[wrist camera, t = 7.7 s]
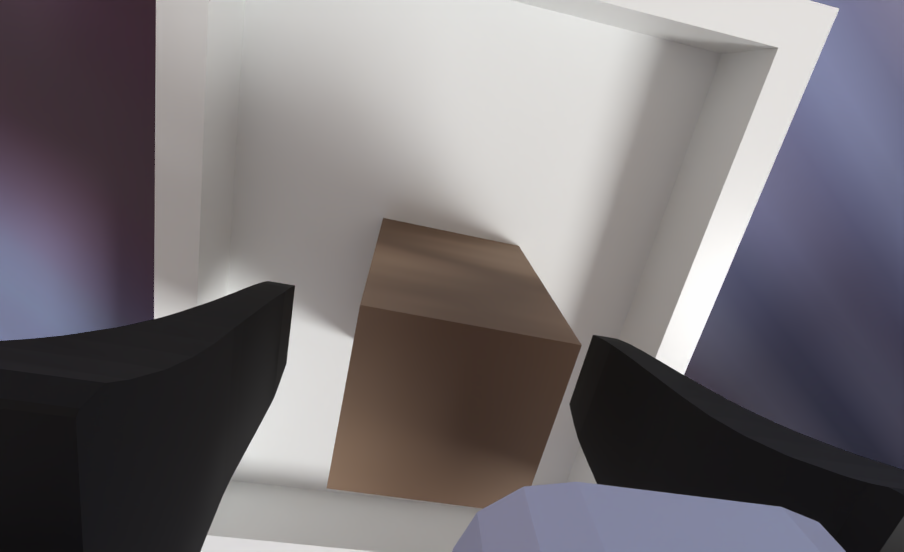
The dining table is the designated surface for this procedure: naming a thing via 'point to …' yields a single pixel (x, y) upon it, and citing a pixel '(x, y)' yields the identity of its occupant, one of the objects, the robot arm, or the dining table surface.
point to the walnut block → (450, 371)
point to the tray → (456, 191)
